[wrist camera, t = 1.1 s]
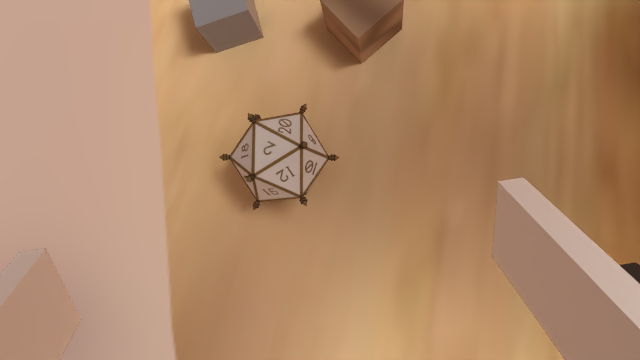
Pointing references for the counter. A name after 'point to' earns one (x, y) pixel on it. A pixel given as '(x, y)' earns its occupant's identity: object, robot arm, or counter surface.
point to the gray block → (226, 22)
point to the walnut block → (363, 23)
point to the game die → (279, 157)
